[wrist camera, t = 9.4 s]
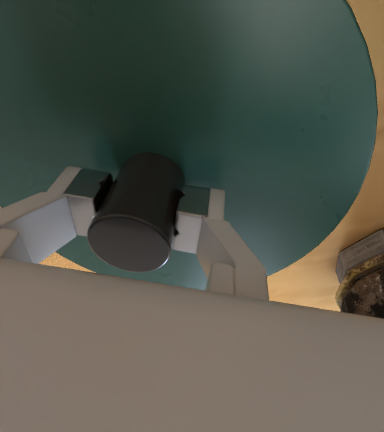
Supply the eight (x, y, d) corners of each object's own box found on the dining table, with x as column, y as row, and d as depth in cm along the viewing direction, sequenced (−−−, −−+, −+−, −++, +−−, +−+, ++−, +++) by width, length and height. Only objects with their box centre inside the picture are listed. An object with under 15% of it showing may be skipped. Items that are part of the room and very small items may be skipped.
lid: (-14, 219, 16) (-84, 292, 12) (-101, -304, 5) (-696, -771, 2) (235, 301, 18) (235, 379, 15) (489, 59, 8) (675, 132, 5)
